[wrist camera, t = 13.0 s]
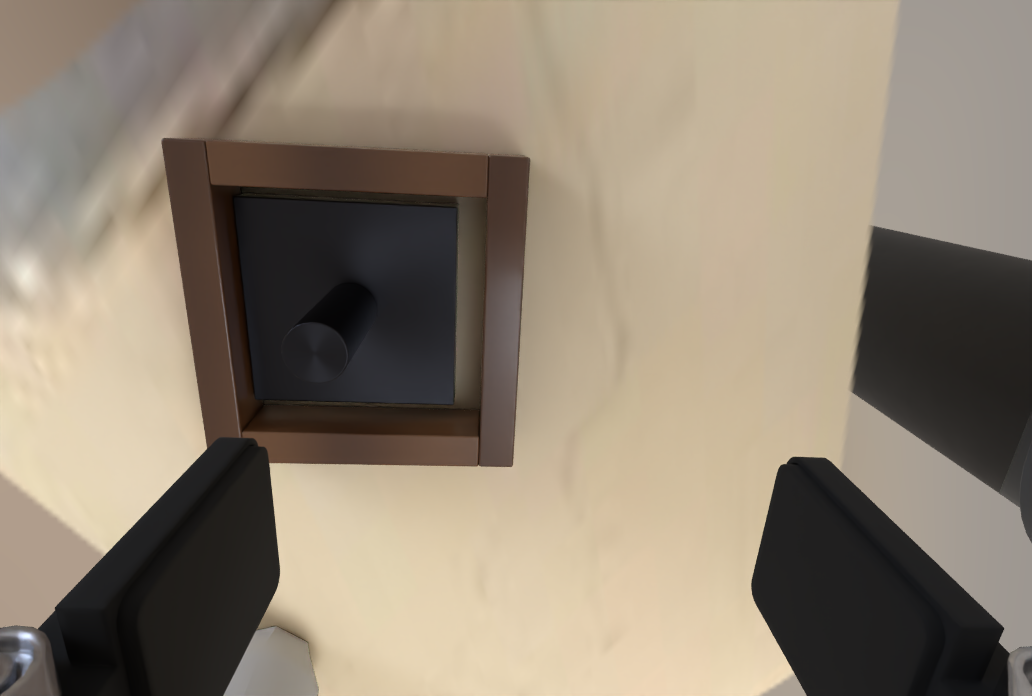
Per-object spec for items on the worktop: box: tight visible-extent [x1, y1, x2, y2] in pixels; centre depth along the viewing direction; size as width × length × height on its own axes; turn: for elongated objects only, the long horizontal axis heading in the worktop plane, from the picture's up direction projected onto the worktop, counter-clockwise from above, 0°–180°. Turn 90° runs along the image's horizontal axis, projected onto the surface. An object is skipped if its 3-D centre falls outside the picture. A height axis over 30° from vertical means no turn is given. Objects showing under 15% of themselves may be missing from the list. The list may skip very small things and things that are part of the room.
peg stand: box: [233, 193, 459, 405], centre depth 20 cm, size 8×8×6 cm
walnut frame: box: [162, 138, 530, 467], centre depth 22 cm, size 12×12×2 cm
